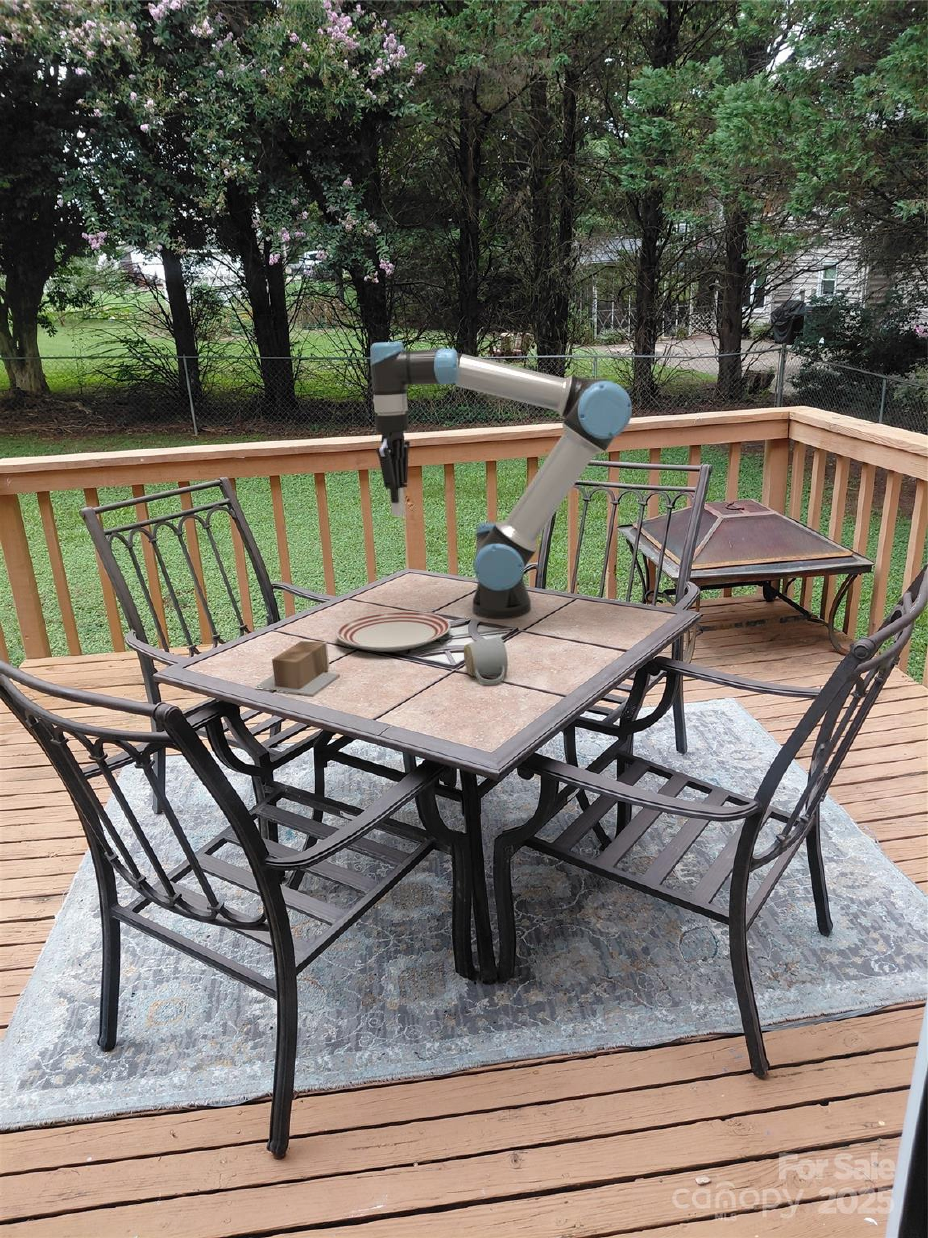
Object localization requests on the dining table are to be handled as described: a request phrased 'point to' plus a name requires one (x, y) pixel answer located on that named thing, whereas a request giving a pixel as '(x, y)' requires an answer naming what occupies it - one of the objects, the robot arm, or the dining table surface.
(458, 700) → the dining table surface
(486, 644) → the ceramic mug
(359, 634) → the dinner plate
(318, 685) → the grey mat
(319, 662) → the walnut block
